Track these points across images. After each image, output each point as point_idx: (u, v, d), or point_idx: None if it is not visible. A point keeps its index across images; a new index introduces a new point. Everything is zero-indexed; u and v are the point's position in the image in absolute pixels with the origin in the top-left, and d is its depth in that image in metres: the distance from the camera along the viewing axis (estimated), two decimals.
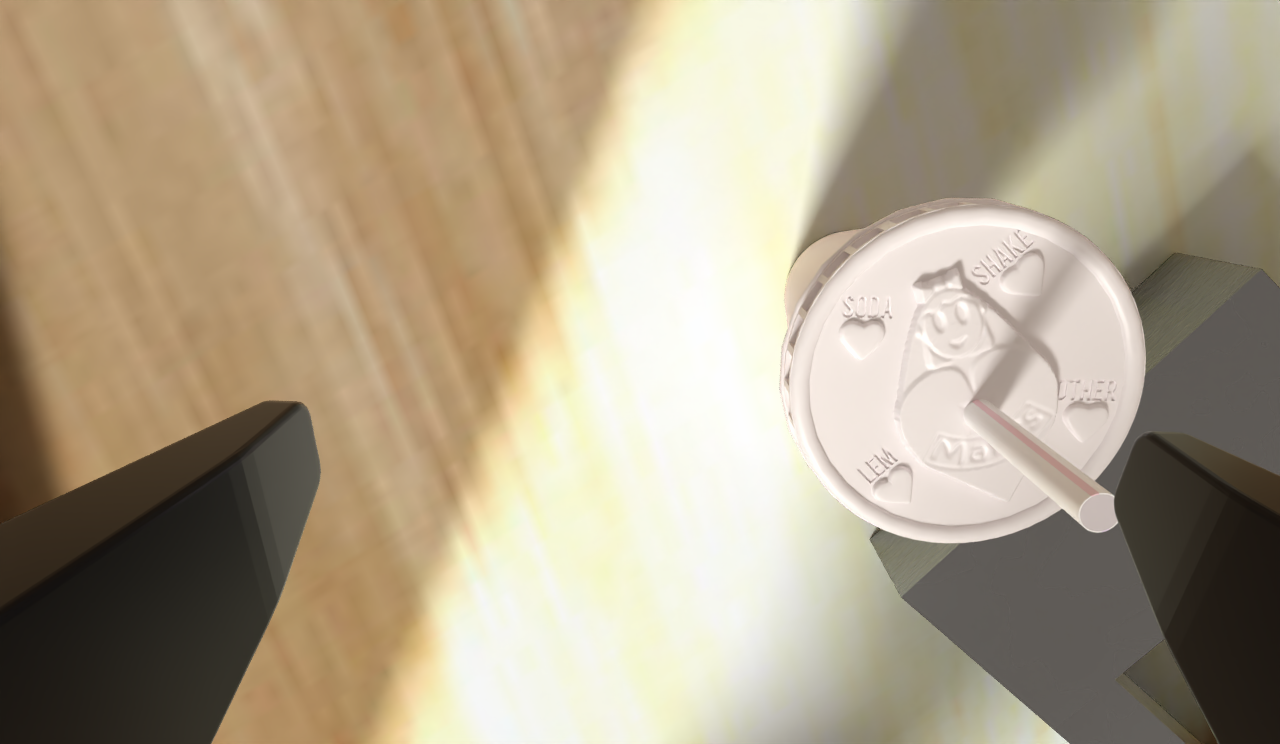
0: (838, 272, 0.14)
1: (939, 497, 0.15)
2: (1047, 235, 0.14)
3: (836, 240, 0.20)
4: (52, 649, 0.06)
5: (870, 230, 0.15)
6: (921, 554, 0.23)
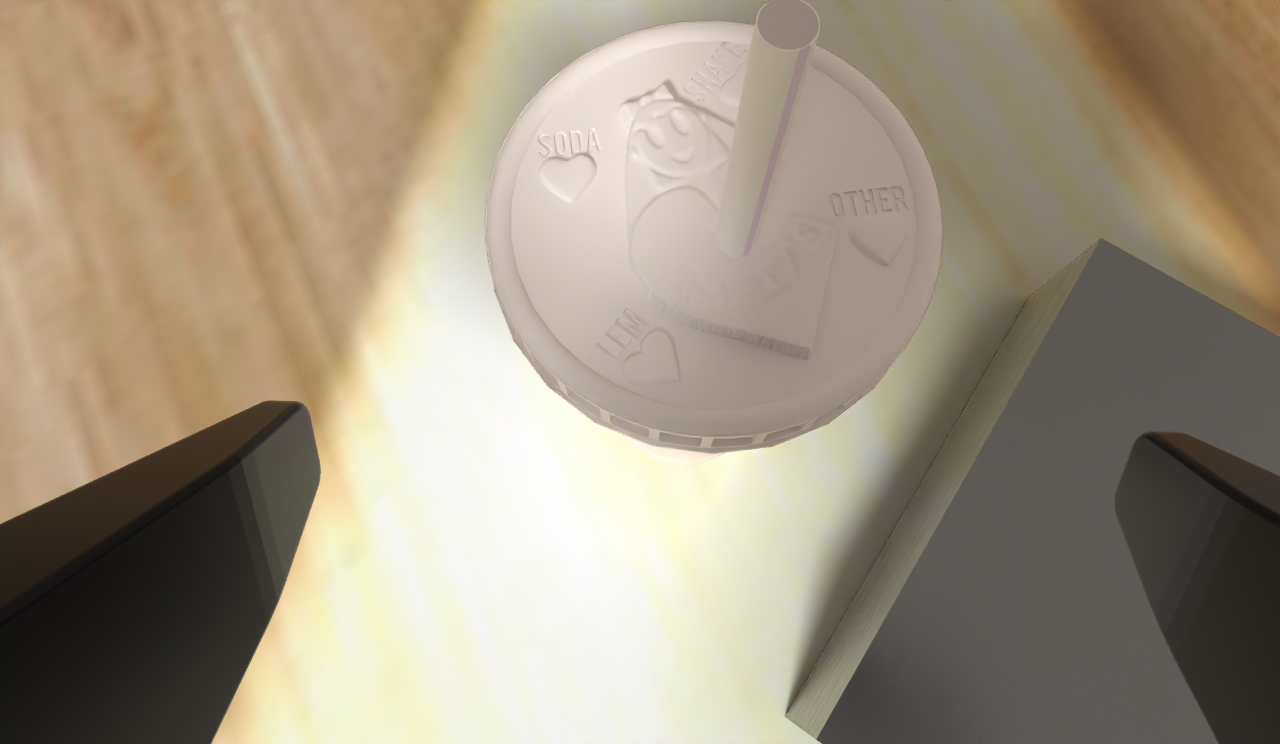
0: (528, 114, 0.12)
1: (719, 368, 0.11)
2: None
3: None
4: (52, 649, 0.06)
5: None
6: (836, 681, 0.16)
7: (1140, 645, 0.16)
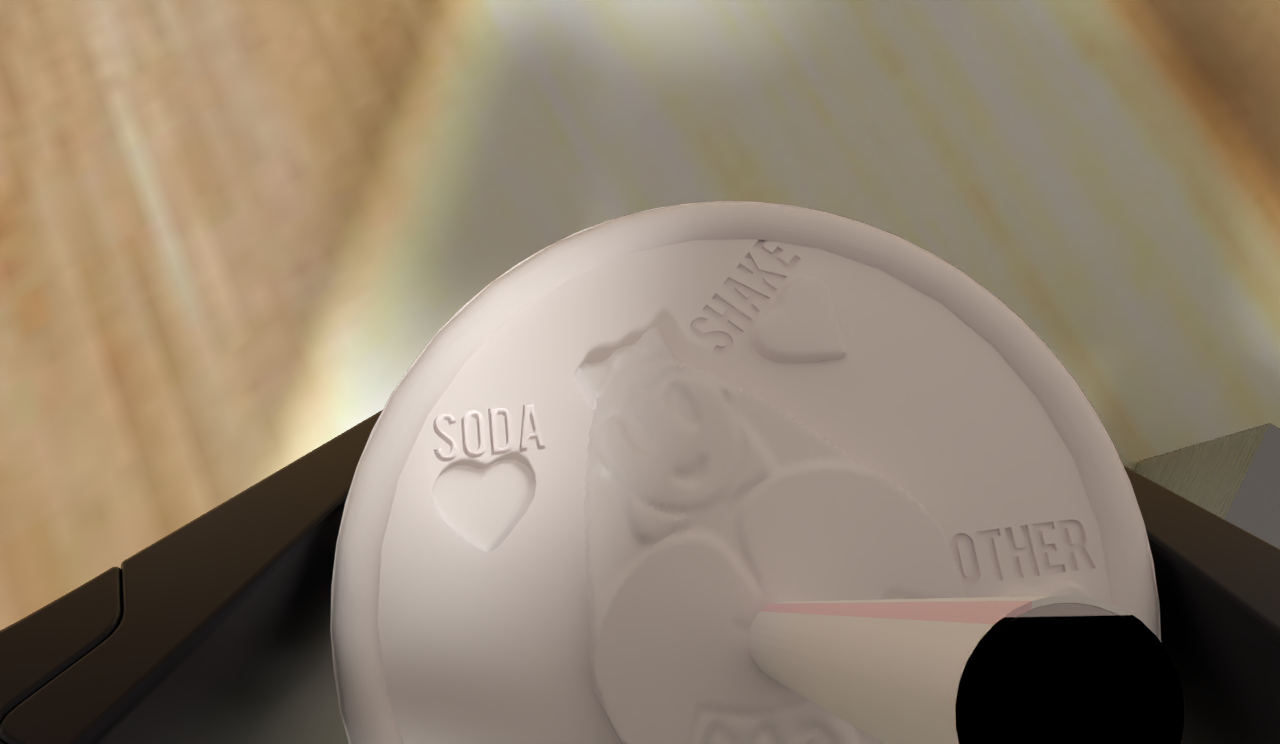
0: (419, 373, 0.07)
1: None
2: (821, 242, 0.07)
3: None
4: (247, 657, 0.06)
5: None
6: None
7: None
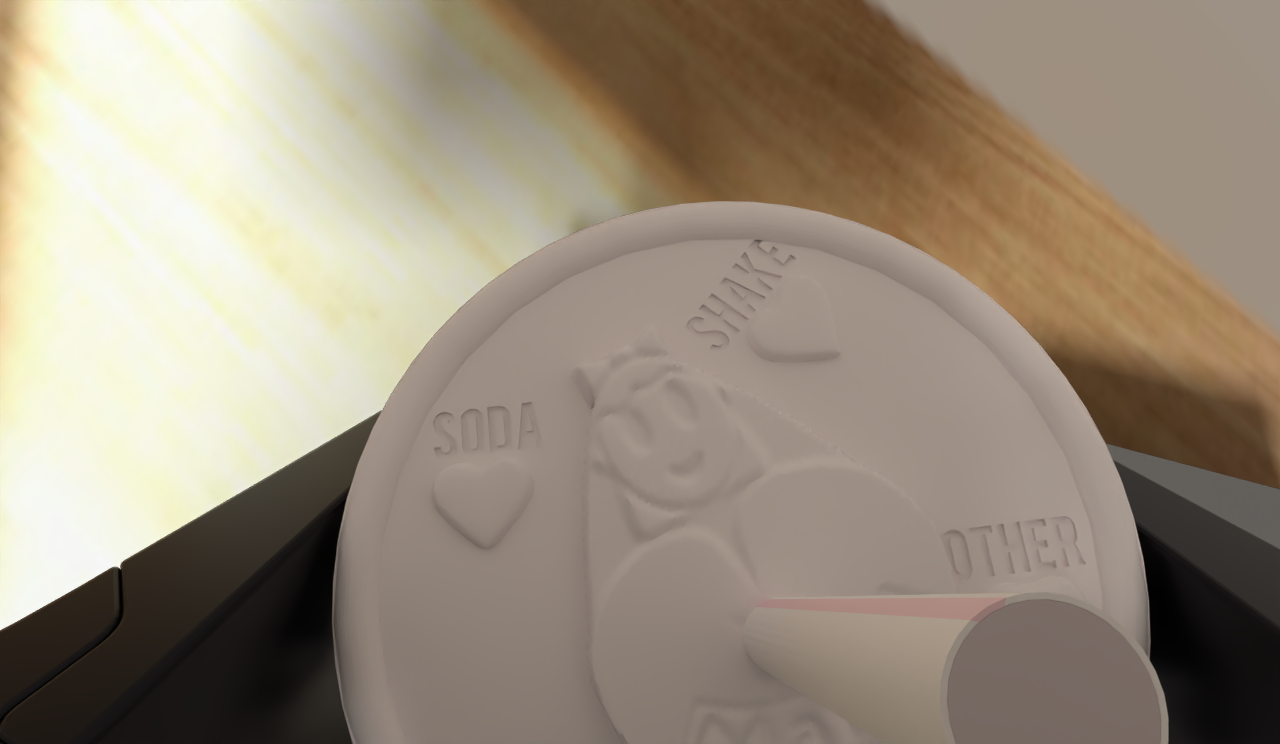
0: (419, 372, 0.07)
1: None
2: (816, 243, 0.07)
3: None
4: (247, 657, 0.06)
5: None
6: None
7: None
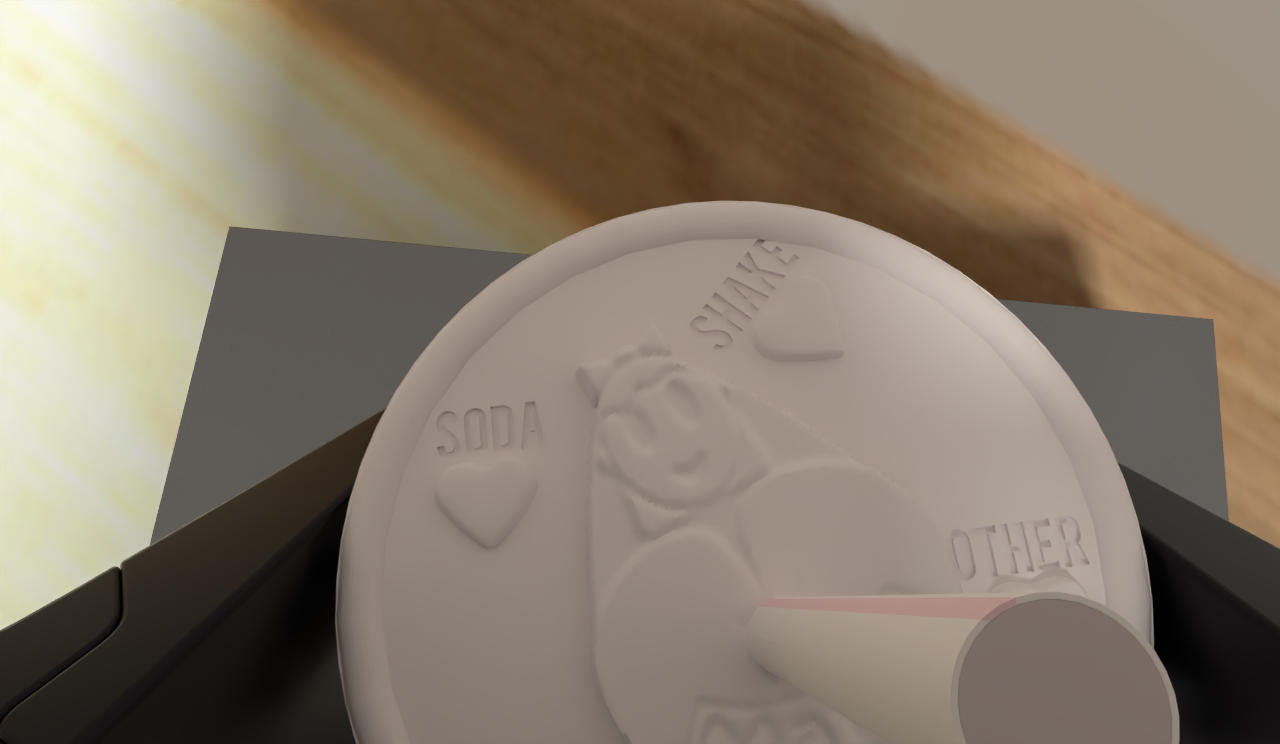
0: (422, 372, 0.07)
1: None
2: (819, 242, 0.07)
3: None
4: (247, 657, 0.06)
5: None
6: None
7: None
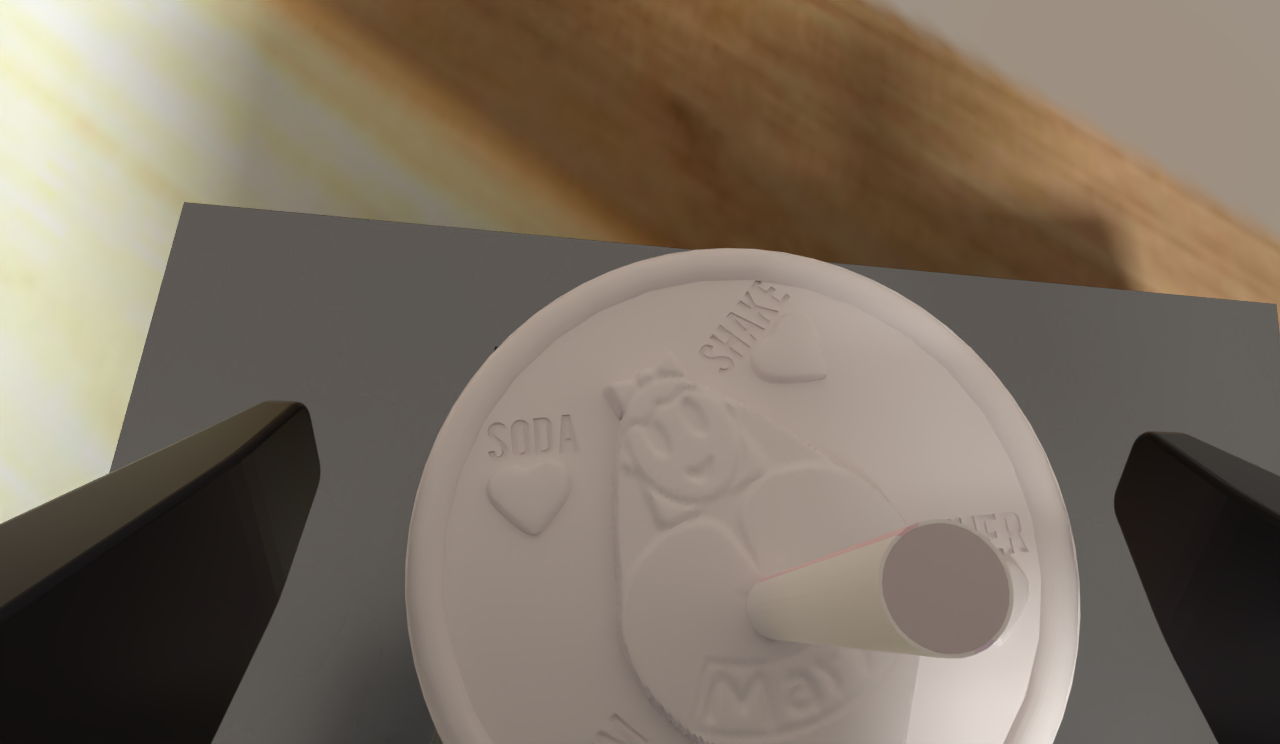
0: (474, 388, 0.08)
1: None
2: (806, 284, 0.09)
3: None
4: (52, 649, 0.06)
5: None
6: None
7: (326, 627, 0.13)
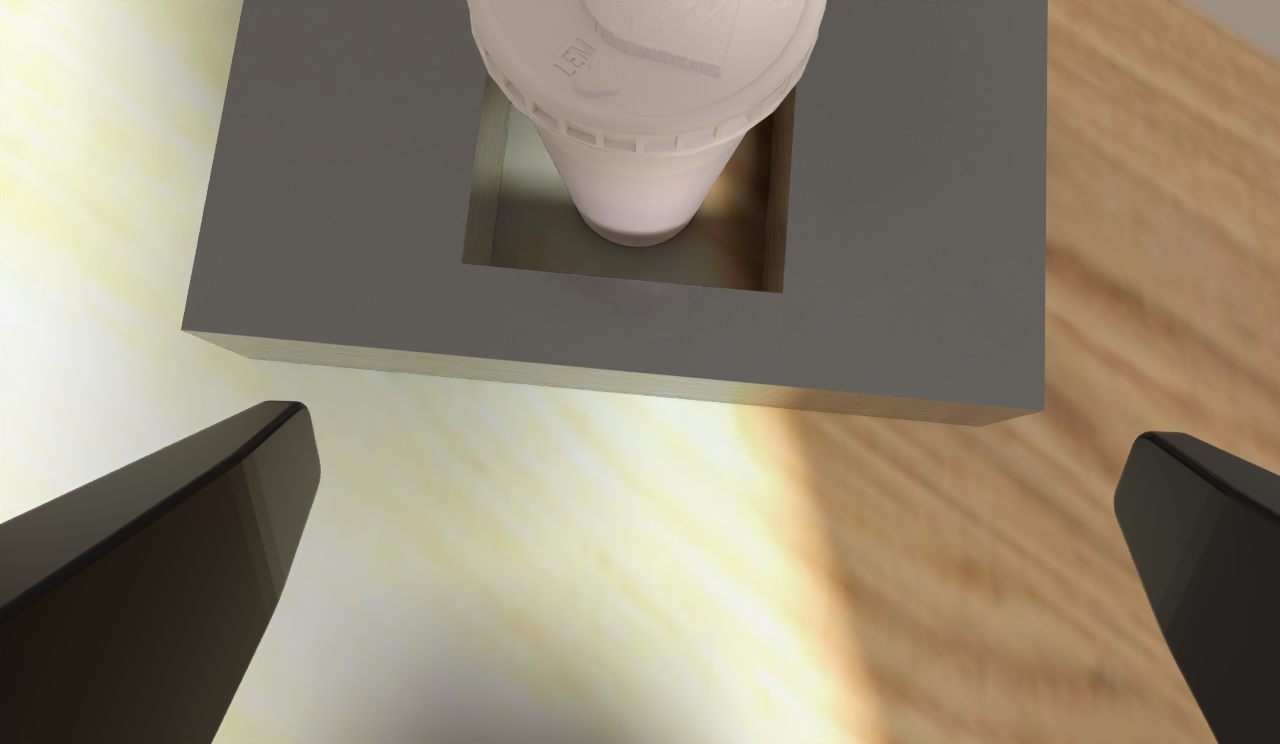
0: None
1: (650, 84, 0.14)
2: None
3: None
4: (52, 649, 0.06)
5: None
6: None
7: (392, 151, 0.20)
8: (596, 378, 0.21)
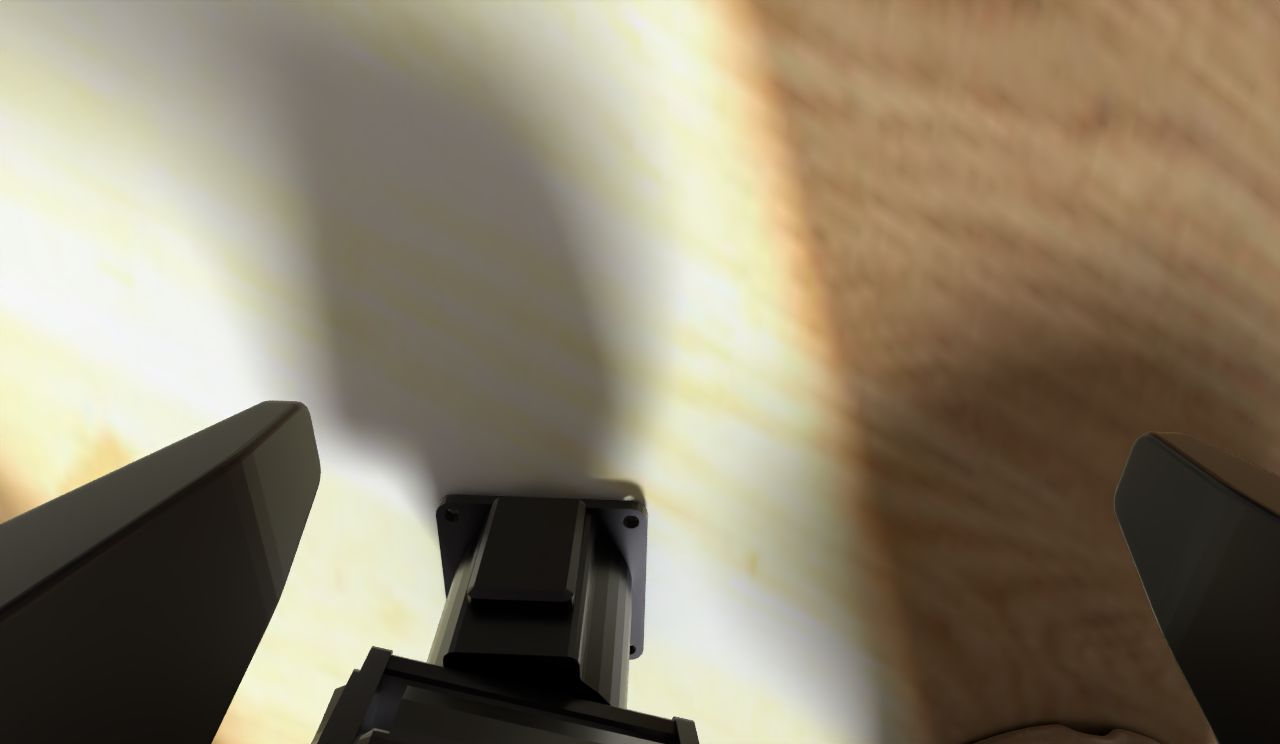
0: None
1: None
2: None
3: None
4: (52, 649, 0.06)
5: None
6: None
7: None
8: None
